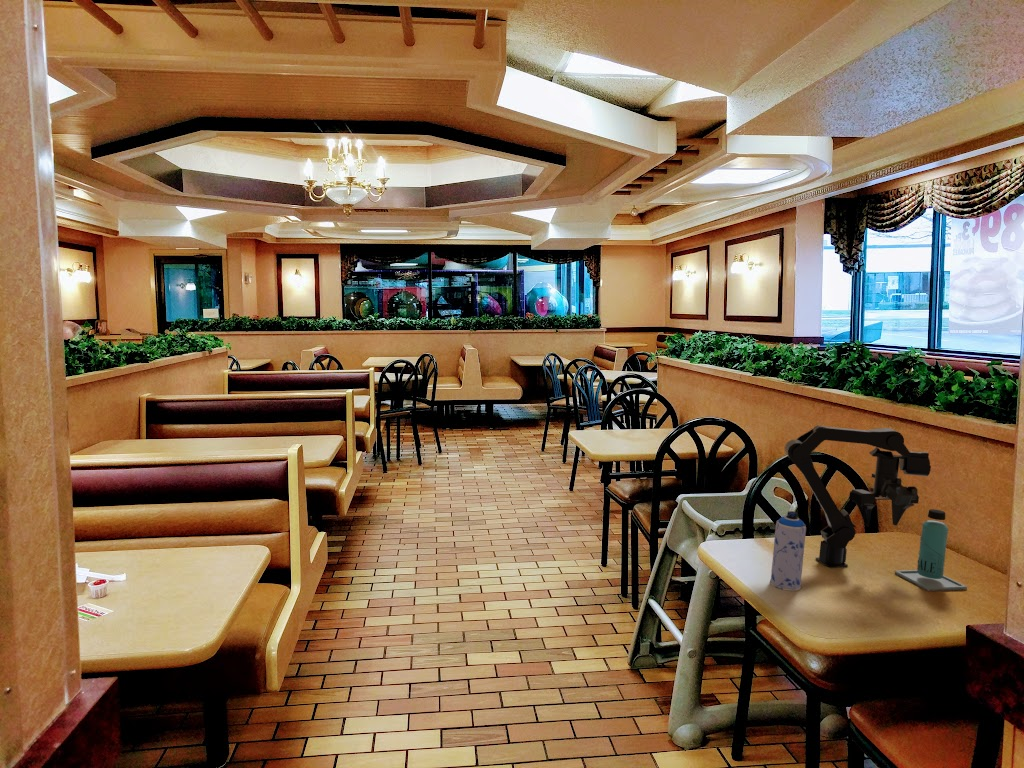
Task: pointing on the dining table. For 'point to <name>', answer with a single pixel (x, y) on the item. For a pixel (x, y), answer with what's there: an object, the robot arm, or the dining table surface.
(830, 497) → the robot arm
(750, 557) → the dining table surface
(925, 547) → the beverage bottle
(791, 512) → the aerosol can
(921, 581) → the tray
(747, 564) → the dining table surface
